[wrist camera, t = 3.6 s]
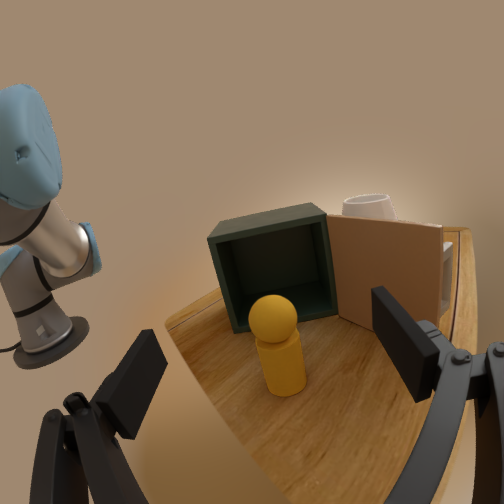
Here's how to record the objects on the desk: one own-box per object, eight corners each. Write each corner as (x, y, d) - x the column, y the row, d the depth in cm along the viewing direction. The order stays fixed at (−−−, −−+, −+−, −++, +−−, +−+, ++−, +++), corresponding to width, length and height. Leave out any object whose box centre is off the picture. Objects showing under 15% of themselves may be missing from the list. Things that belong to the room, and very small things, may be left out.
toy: (270, 402, 26) (246, 315, 23) (263, 375, 31) (241, 294, 28) (313, 389, 27) (299, 301, 24) (301, 365, 31) (286, 282, 28)
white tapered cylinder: (381, 252, 58) (374, 189, 54) (421, 270, 45) (417, 194, 41) (329, 269, 56) (318, 202, 52) (363, 294, 43) (354, 209, 39)
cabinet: (339, 313, 40) (326, 213, 36) (233, 333, 41) (206, 238, 37) (324, 282, 51) (311, 202, 47) (239, 299, 53) (219, 221, 49)
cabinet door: (365, 299, 41) (355, 205, 37) (453, 330, 27) (460, 213, 23) (338, 316, 39) (325, 215, 35) (431, 357, 25) (440, 227, 21)
